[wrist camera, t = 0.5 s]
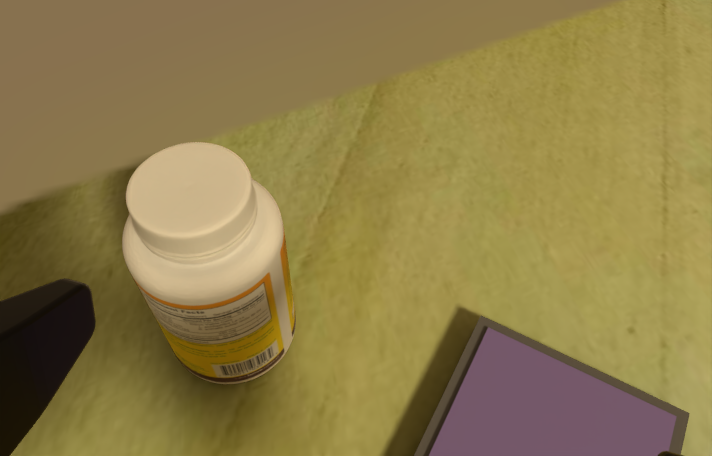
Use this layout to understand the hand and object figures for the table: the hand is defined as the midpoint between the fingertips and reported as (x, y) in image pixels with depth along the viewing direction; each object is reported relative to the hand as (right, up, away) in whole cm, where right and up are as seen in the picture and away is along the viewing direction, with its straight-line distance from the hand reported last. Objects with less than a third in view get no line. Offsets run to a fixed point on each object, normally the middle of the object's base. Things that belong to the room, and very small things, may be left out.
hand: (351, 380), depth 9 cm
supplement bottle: (-5, -2, +18) cm, 19 cm away
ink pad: (+7, -7, +15) cm, 18 cm away
